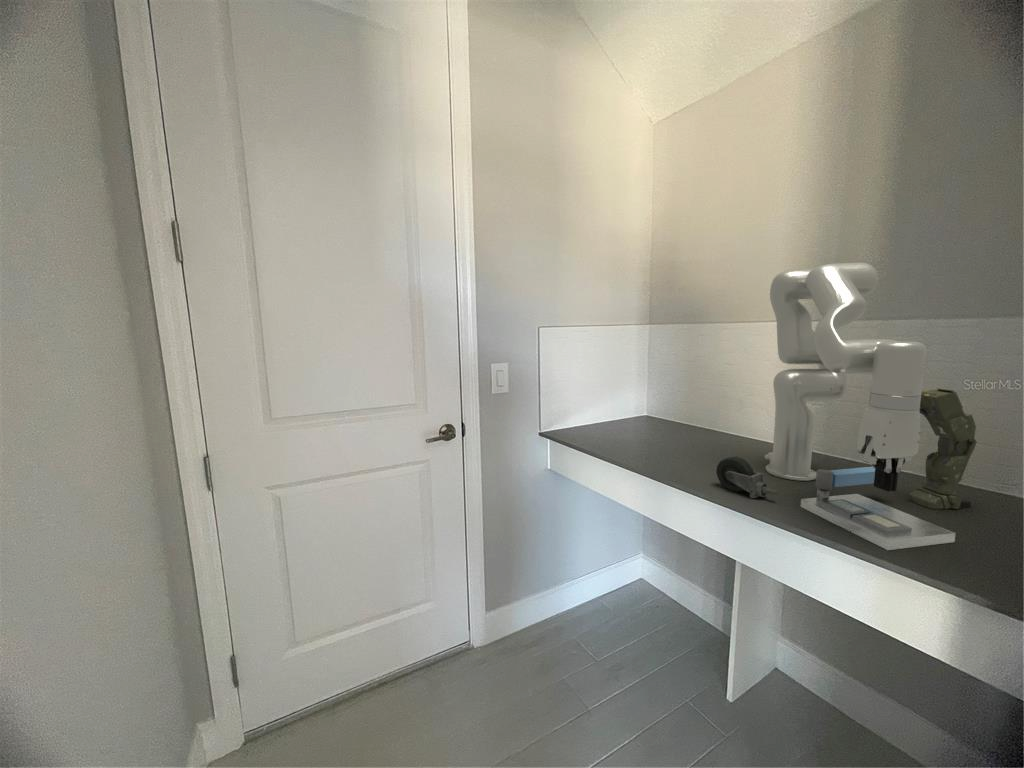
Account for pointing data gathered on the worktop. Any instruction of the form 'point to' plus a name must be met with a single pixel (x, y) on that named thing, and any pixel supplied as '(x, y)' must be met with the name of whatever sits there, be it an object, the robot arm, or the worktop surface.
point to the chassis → (876, 521)
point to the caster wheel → (742, 477)
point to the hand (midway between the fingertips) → (884, 488)
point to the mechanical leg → (945, 450)
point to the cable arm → (844, 477)
